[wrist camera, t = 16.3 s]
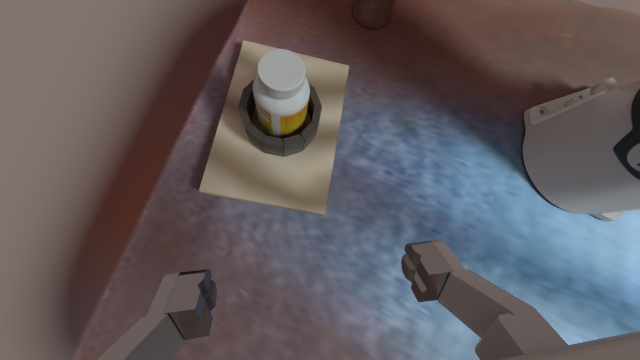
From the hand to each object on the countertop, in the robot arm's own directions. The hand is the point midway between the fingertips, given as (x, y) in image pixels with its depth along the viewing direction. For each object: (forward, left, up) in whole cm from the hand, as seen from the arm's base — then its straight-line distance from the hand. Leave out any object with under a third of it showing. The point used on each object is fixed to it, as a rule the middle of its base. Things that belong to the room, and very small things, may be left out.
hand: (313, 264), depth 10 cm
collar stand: (-6, -14, -18) cm, 24 cm away
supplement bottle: (-6, -14, -17) cm, 23 cm away
